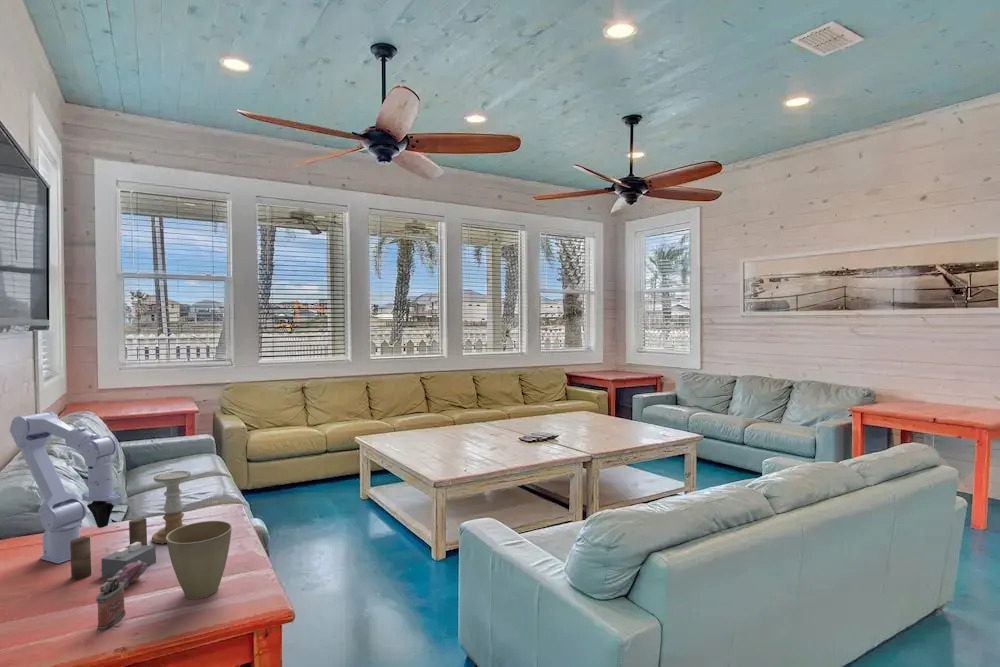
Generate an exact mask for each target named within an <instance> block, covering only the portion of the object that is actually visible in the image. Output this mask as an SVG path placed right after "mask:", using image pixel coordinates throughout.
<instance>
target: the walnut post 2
mask: <svg viewBox="0 0 1000 667" xmlns="http://www.w3.org/2000/svg"><path fill="white" fill-rule="evenodd" d="M128 530H129V531H128V532H129V533H128V534H129V539H128V541H129V545H131V544H133V543H135V542H141V545H146V546H148V531H147V530H148V527H147V518H145V517H137V518H133V519H130V520H129V522H128Z"/></svg>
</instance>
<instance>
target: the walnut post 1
mask: <svg viewBox="0 0 1000 667" xmlns="http://www.w3.org/2000/svg"><path fill="white" fill-rule="evenodd" d="M70 552H71V559H70V573H71V575H70V576H71V580H72V581H73V580H74V581H77V580H78V581H79V580H83V579H86V578H88V577H90V576H91V575H92V557H91V556H92V551H91V537H90V536H82V537H81V536H80V538H76V539H74V540H72V541H70Z"/></svg>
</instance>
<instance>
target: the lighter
mask: <svg viewBox="0 0 1000 667" xmlns="http://www.w3.org/2000/svg"><path fill="white" fill-rule="evenodd" d="M119 580H120V576H114V577H113V578H112V577H108V578H107V579H106V582H105V583H103V584H102V585H100V587H99V589H100V590H99V592H100V593H99V594H98V595H97V596H96V600H95V601H96V602H97V620H98V621H97V622H98V623H97V627H96V628H97V632H106V631H108V629H109V630H110V629H112V628H113V627H114V625H115V626H116V625H117V624H118V623H119V622H120V621H121V620H123V618H124V617H125V616H126V609H125V588H126V587H125V583H124V582H119ZM124 587H125V588H124ZM111 627H112V628H111ZM105 630H106V631H105Z"/></svg>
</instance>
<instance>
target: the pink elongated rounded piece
mask: <svg viewBox="0 0 1000 667" xmlns="http://www.w3.org/2000/svg"><path fill="white" fill-rule="evenodd" d="M147 568H149V567H148V564H146V563H144V562H140V561H139V560H138V561H137V562H133V563H130V564H127V565H126V566H125V567H124V568H123V569H121V570H119V571H118V572H117V573H116V574H115V575H114V576H120V580H119V582H124V583H125V587H124V589H126V588H127V586H128V585H129V583H131V584H134V583H135V582H137V580H138V579H139V578H140V576H141V575H143V573H145V571H147ZM114 576H113V577H114ZM113 577H111V578H113Z"/></svg>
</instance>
